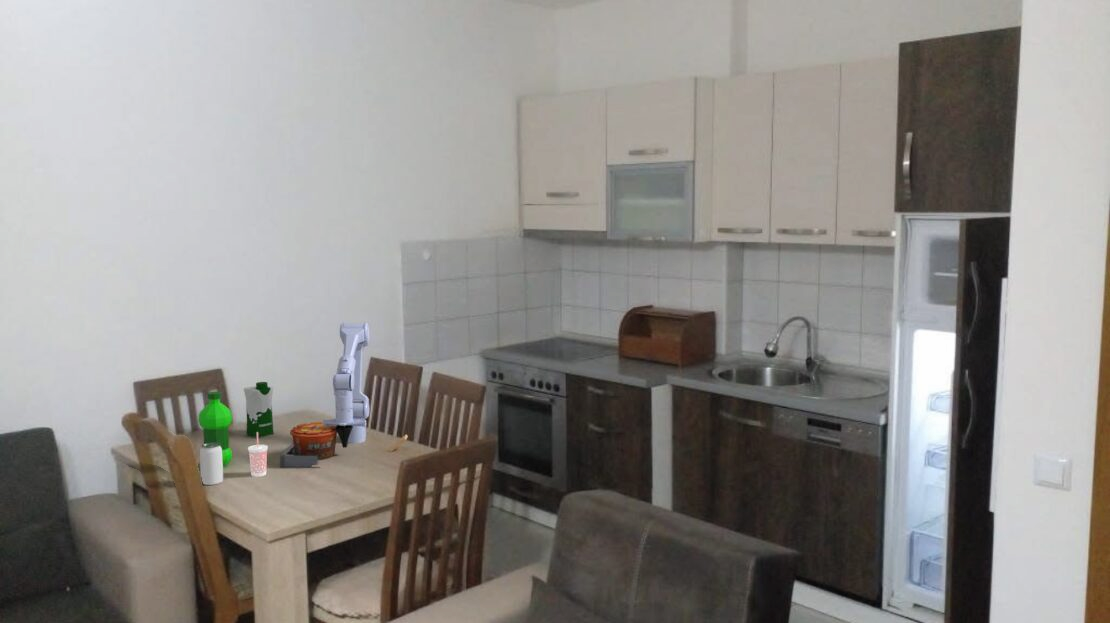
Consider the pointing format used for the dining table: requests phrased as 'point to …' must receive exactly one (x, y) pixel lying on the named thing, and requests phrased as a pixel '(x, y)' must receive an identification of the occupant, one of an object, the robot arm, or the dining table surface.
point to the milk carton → (259, 409)
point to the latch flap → (398, 443)
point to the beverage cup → (258, 459)
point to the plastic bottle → (216, 424)
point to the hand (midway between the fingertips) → (345, 446)
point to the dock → (297, 459)
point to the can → (211, 463)
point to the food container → (314, 440)
